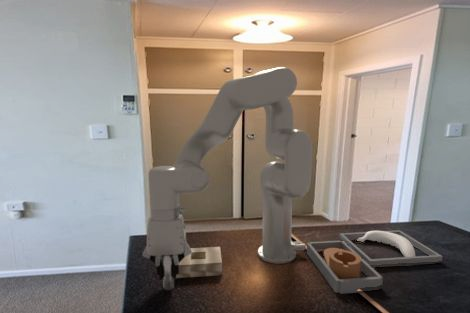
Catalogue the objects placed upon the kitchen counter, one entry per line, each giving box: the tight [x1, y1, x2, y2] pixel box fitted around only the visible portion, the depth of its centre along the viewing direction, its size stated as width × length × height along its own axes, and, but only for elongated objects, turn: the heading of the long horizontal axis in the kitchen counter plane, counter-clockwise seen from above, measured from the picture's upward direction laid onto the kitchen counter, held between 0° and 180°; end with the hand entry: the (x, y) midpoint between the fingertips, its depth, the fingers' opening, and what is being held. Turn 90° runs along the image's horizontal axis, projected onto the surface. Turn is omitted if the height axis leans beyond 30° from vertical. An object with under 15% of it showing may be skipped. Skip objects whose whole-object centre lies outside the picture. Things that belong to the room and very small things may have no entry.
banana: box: [357, 230, 416, 257], centre depth 98 cm, size 5×19×15 cm
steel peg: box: [161, 255, 175, 291], centre depth 79 cm, size 3×3×10 cm
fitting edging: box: [306, 240, 384, 295], centre depth 87 cm, size 13×23×4 cm, turn 6°
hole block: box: [176, 246, 223, 279], centre depth 89 cm, size 14×10×4 cm
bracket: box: [323, 248, 361, 279], centre depth 87 cm, size 18×8×7 cm, turn 172°
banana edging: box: [338, 229, 443, 265], centre depth 98 cm, size 24×20×2 cm
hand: (168, 276), depth 79 cm, fingers closed on steel peg, 3 cm apart
